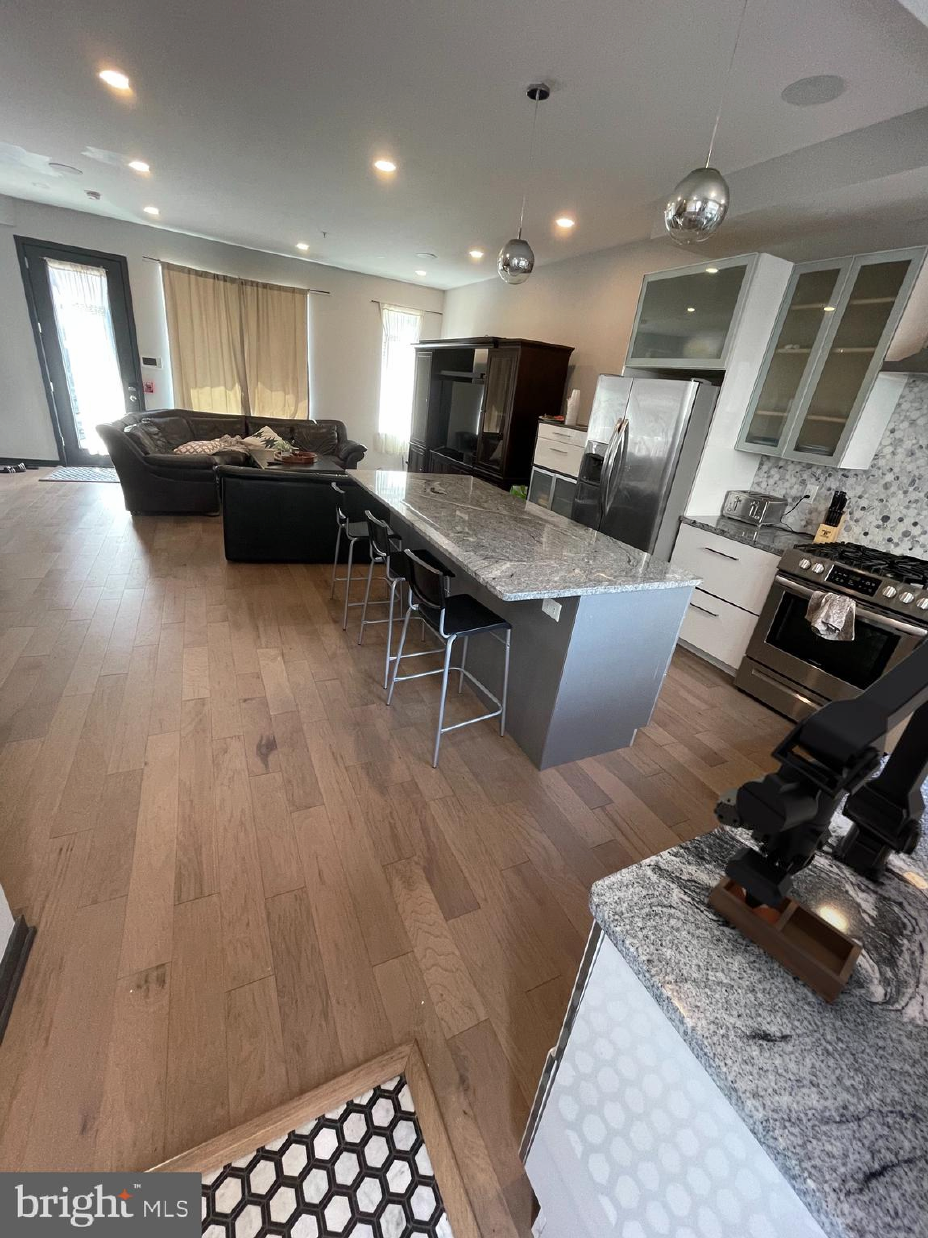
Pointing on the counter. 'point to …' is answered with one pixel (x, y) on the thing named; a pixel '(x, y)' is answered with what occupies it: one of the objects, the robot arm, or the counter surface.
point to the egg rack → (792, 938)
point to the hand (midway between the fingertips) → (756, 896)
